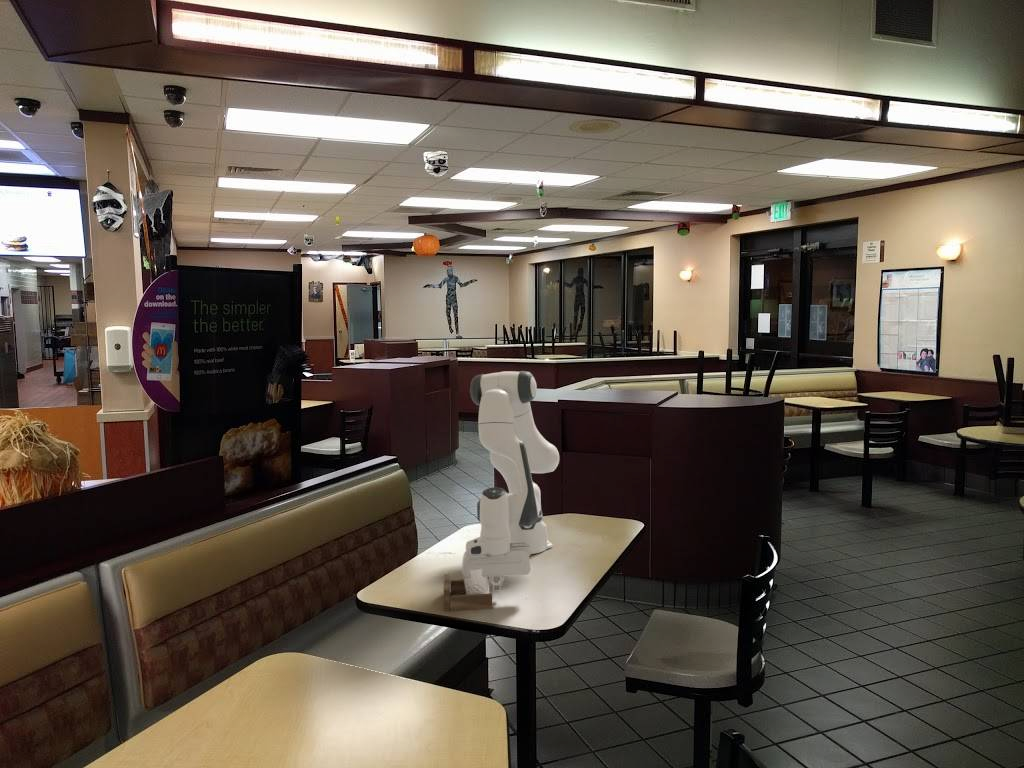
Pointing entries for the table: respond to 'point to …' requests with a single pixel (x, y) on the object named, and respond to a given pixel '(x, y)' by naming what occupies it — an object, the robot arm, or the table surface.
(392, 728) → the table surface
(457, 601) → the open brown box
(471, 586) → the white cup
